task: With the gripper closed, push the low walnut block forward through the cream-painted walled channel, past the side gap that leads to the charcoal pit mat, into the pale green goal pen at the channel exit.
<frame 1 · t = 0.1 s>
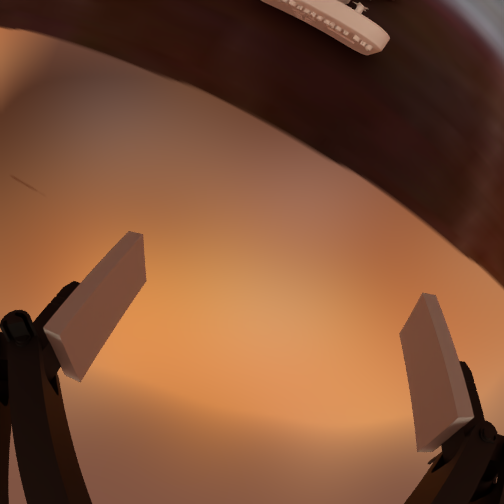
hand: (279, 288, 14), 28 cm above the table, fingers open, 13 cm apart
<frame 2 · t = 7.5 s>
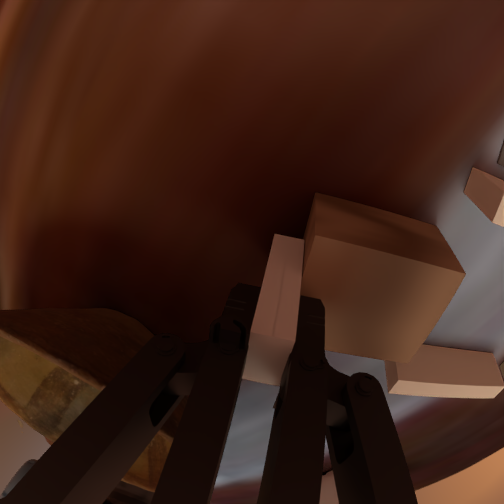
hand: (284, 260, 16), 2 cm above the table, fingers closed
bowl: (120, 343, 26), on the table
cable organizer: (346, 477, 36), on the table
channel: (486, 290, 17), on the table
block: (362, 257, 17), on the table, touching gripper
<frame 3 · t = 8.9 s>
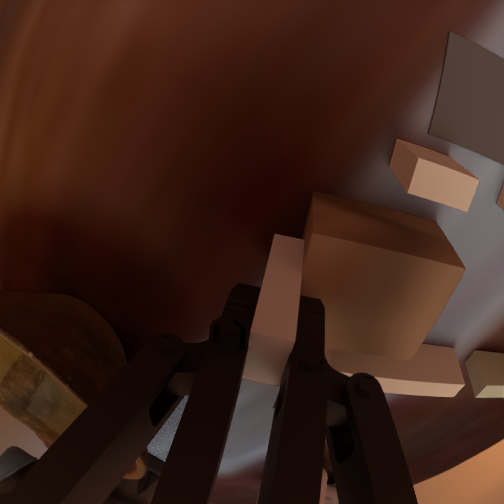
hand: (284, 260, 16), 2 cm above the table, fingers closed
bowl: (80, 328, 26), on the table
cable organizer: (318, 475, 36), on the table
pit mat: (496, 107, 11), on the table
channel: (433, 277, 17), on the table
block: (362, 254, 17), on the table, touching gripper
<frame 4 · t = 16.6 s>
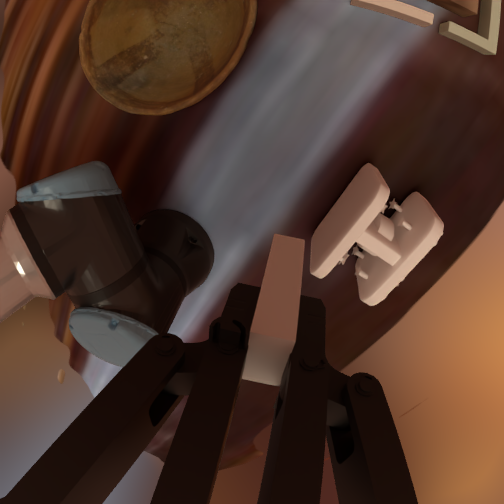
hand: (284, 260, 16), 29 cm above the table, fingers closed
bowl: (187, 29, 35), on the table
cable organizer: (367, 213, 45), on the table
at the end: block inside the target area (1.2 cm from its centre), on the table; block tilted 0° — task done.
